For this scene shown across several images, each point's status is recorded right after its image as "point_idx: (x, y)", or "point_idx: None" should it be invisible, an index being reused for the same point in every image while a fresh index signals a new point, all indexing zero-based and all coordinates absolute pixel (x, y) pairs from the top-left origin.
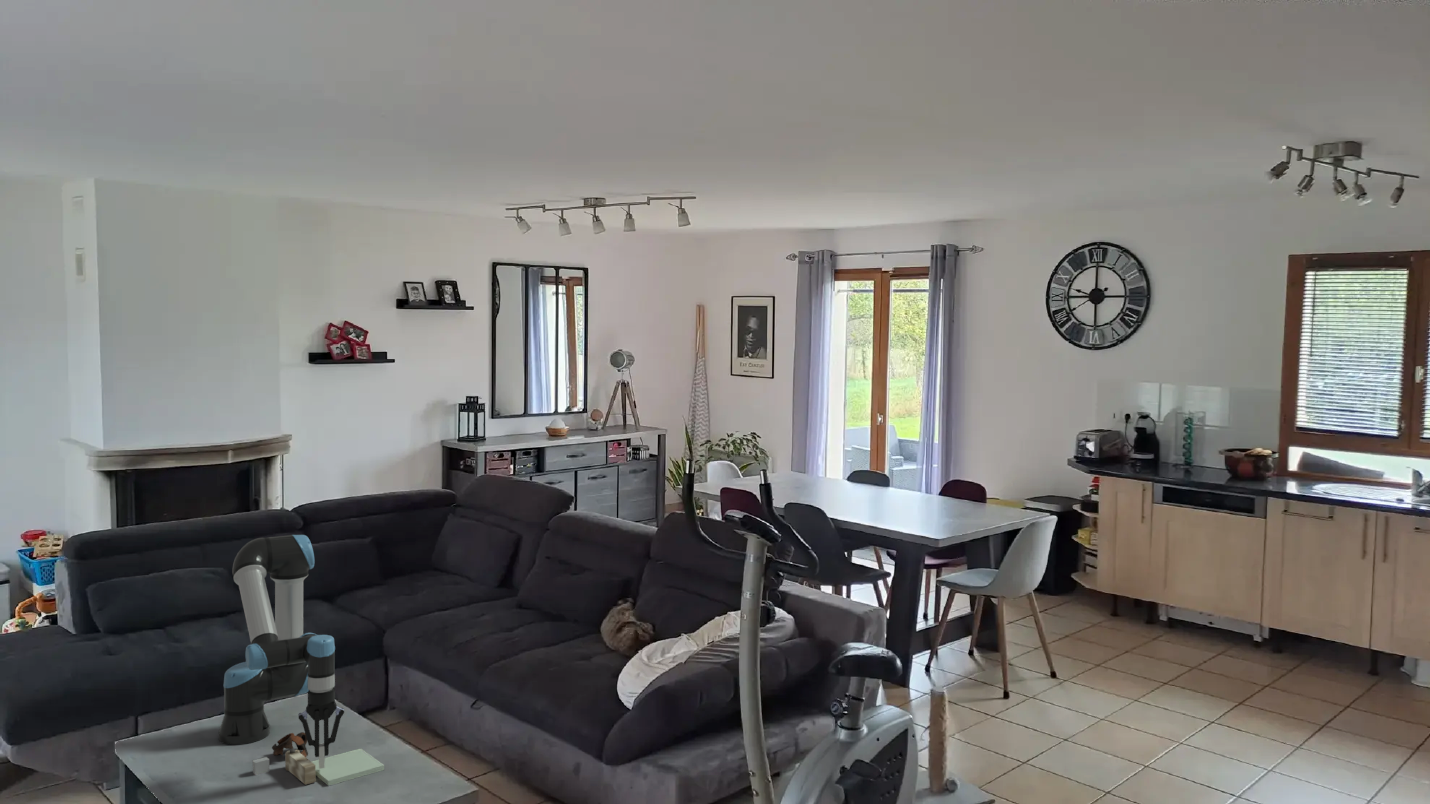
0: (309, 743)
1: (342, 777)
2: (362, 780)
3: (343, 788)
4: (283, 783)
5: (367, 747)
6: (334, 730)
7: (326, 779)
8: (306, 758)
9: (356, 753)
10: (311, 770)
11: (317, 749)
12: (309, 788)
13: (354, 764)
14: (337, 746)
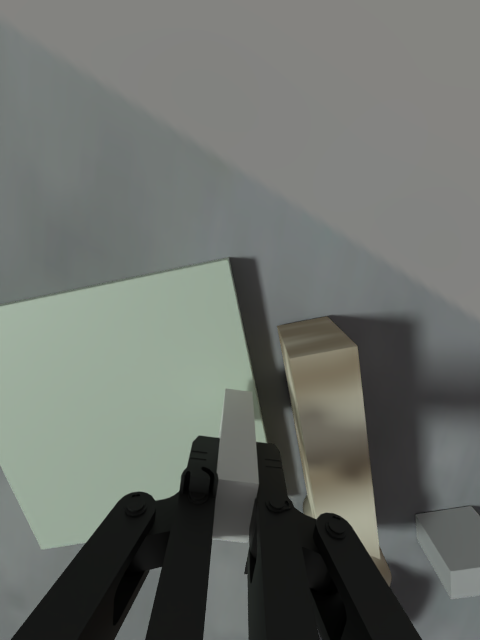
0: (345, 533)
1: (152, 274)
2: (63, 239)
3: (164, 184)
4: (400, 388)
5: (25, 566)
6: (66, 628)
7: (233, 285)
8: (313, 477)
9: (62, 510)
10: (309, 343)
11: (266, 481)
12: (315, 274)
13: (79, 399)
14: (135, 616)
